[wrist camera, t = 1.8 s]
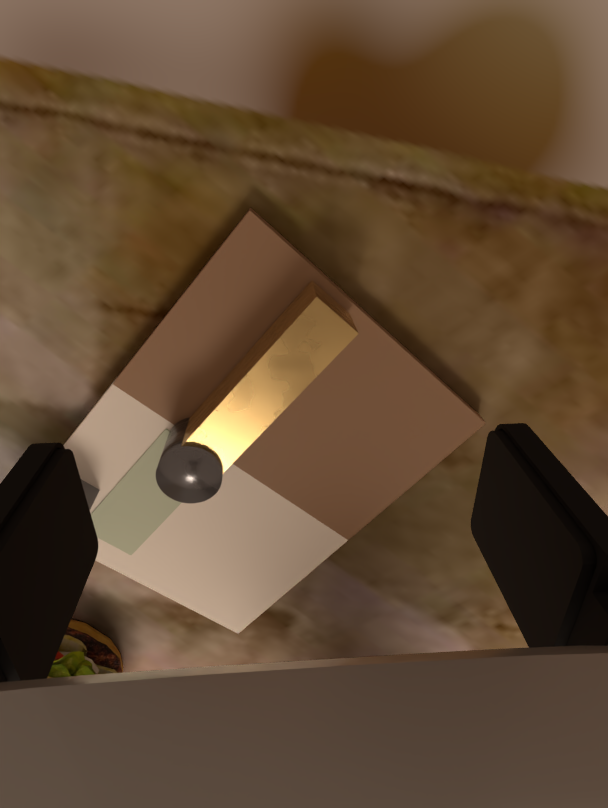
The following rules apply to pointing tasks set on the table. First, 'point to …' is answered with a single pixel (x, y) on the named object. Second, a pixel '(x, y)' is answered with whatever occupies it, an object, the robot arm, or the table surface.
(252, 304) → the door panel
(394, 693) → the robot arm
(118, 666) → the food
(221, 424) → the bar
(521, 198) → the table surface
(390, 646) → the table surface
